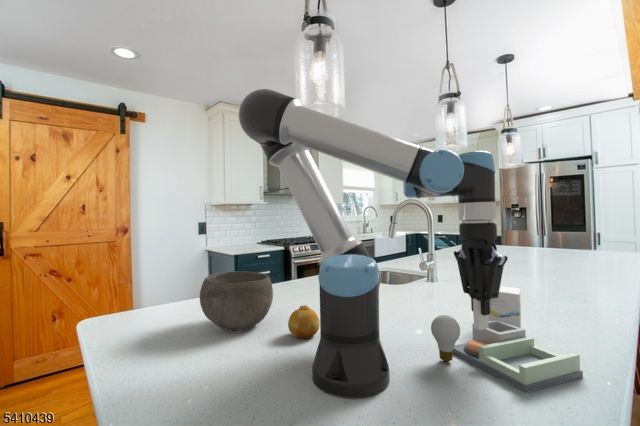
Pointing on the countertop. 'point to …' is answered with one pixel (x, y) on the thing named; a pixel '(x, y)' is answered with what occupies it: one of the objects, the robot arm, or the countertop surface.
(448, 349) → the light bulb
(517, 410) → the countertop surface
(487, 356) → the compartment tray
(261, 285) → the bowl
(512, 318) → the ink box
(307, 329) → the fruit
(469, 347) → the checker pad
